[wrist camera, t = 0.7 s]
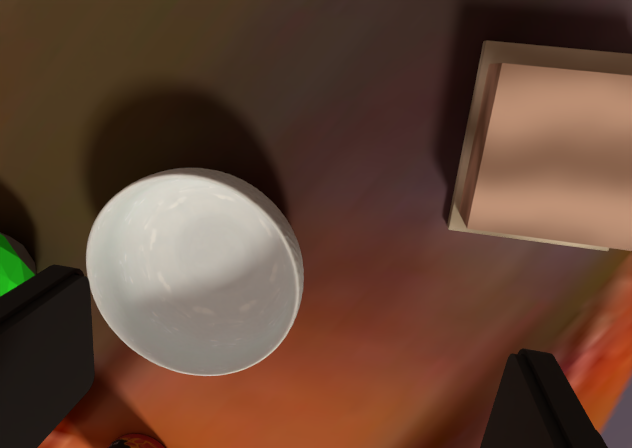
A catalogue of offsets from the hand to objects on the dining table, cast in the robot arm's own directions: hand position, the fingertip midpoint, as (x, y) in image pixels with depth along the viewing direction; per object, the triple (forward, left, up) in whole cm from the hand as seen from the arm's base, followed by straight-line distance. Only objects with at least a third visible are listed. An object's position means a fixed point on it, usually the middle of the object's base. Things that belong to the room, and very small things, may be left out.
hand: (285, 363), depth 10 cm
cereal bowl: (+10, -11, -29) cm, 33 cm away
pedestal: (-2, +14, -29) cm, 32 cm away
